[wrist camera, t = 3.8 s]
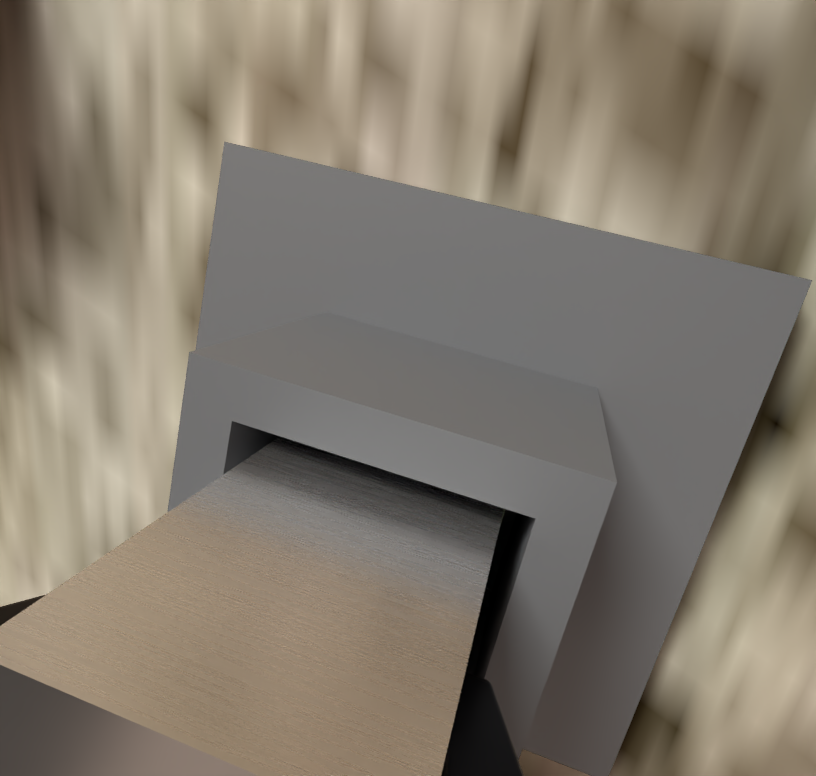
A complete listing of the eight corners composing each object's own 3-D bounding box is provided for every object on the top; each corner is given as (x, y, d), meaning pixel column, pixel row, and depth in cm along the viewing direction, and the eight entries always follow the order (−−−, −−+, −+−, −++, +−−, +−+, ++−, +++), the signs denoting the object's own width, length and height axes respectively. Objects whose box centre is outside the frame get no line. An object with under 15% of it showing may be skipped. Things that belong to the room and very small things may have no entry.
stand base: (603, 742, 16) (627, 1059, 10) (185, 584, 18) (-13, 762, 12) (790, 276, 13) (1003, 309, 6) (251, 149, 15) (22, 82, 8)
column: (476, 592, 14) (320, 1196, 5) (322, 538, 15) (-53, 993, 6) (524, 430, 13) (433, 845, 4) (356, 380, 13) (-41, 641, 5)
